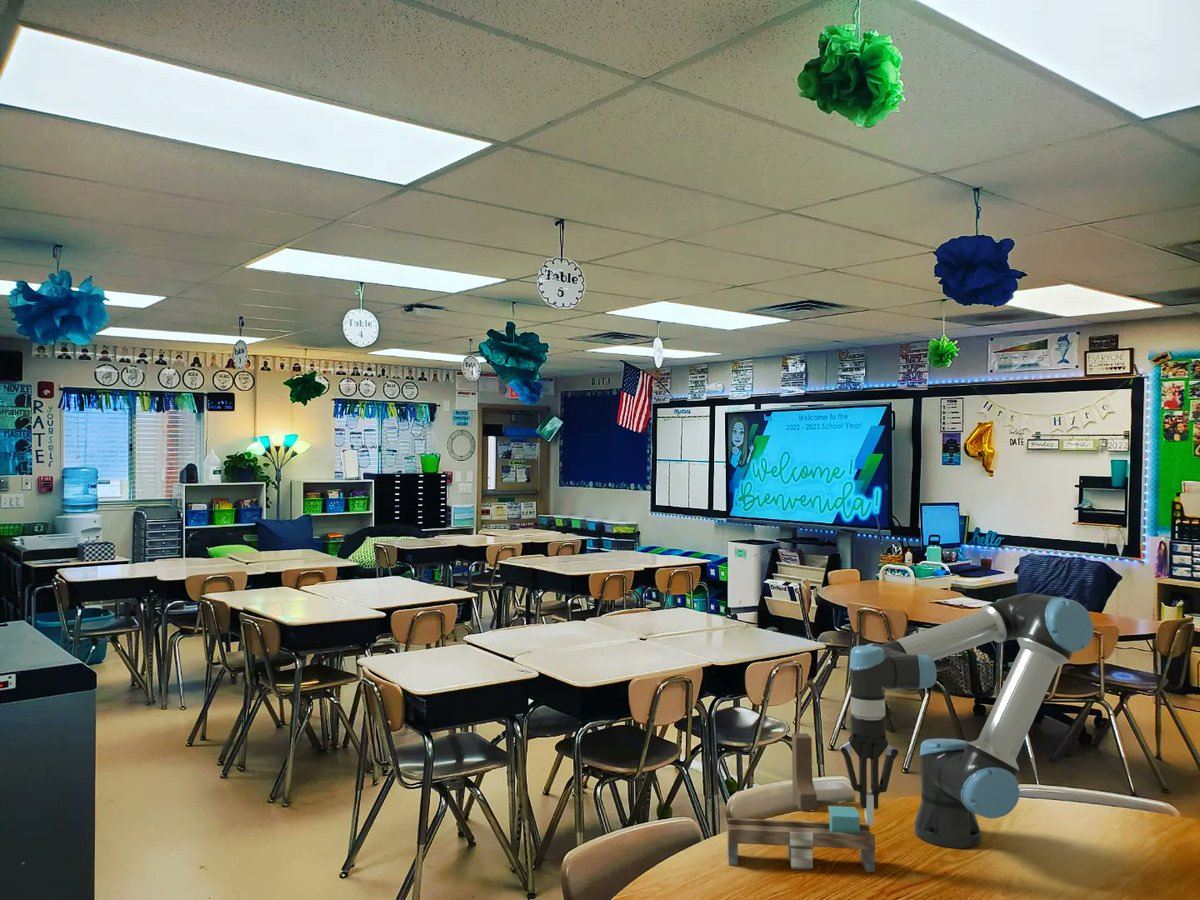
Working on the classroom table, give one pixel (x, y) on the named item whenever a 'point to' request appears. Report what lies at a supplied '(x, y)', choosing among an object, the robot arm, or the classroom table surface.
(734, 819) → the wooden bench
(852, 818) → the rider
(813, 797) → the wooden block
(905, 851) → the classroom table surface
